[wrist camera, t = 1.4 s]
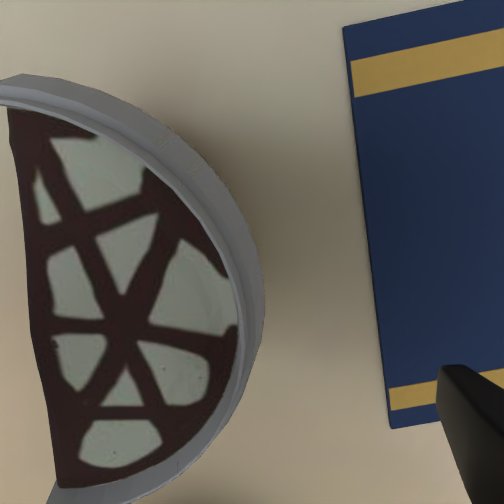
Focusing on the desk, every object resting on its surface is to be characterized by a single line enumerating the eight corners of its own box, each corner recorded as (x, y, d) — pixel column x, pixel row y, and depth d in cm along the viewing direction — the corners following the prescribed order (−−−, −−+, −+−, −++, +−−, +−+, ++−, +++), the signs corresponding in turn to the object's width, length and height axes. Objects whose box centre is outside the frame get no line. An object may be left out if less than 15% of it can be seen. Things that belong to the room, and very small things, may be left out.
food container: (251, 350, 22) (256, 535, 13) (128, 346, 22) (42, 532, 12) (263, 92, 18) (286, 82, 9) (114, 85, 18) (-30, 67, 8)
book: (389, 425, 24) (391, 430, 24) (342, 27, 17) (344, 26, 17) (574, 393, 23) (579, 397, 23) (597, -29, 17) (604, -31, 17)
